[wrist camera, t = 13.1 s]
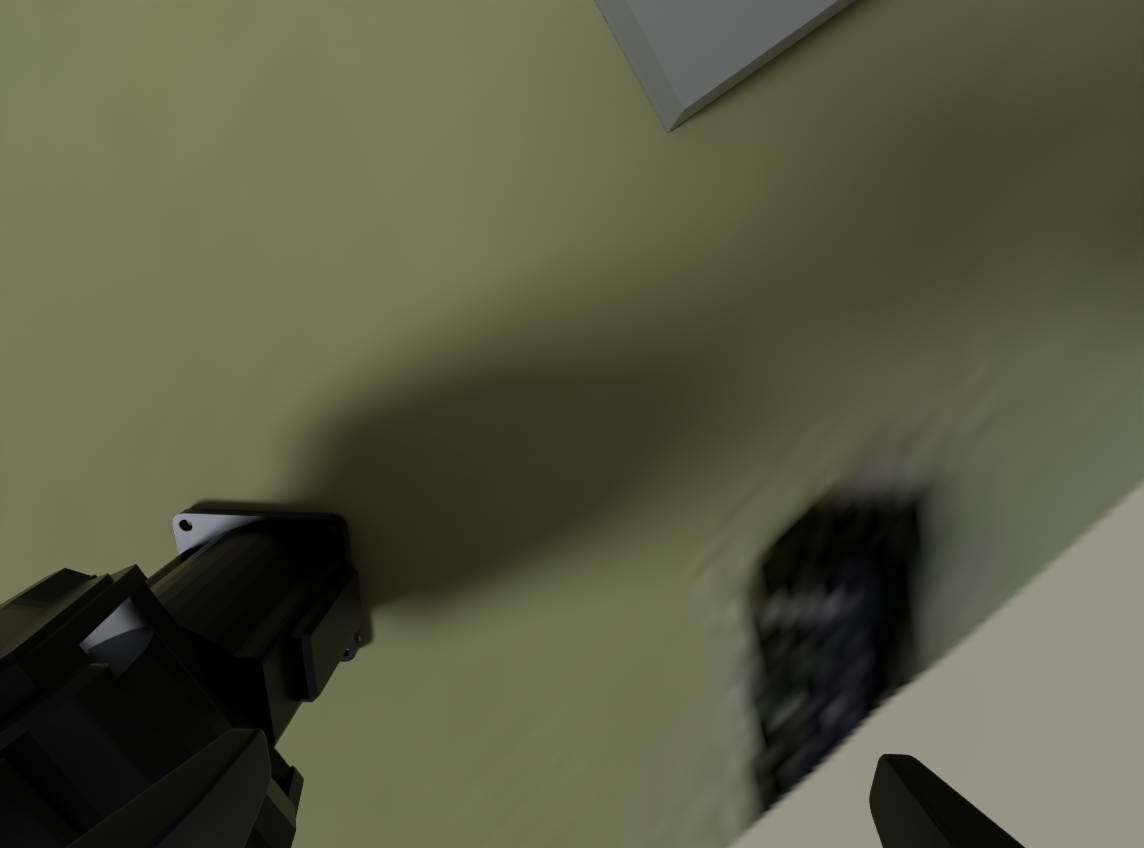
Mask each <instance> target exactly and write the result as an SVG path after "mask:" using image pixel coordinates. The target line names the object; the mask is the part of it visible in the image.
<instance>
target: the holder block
mask: <svg viewBox="0 0 1144 848" xmlns="http://www.w3.org/2000/svg"><path fill="white" fill-rule="evenodd" d="M595 1H596V3H597V5H598V7H599V9H600V11H601V12H602V14H603V16H604V18H605V20H606V22H607V23H608V25H609V27H610V29H611V31H612V33H613V34H614V36H615V38H616V40H617V42H618V44H619V45H620V47H621V49H622V51H623V53H624V55H625V56H626V58H627V60H628V62H629V64H630V66H631V67H632V69H633V71H634V73H635V75H636V76H637V78H638V80H639V82H640V84H641V86H642V87H643V89H644V91H645V93H646V95H647V97H648V98H649V100H650V102H651V104H652V106H653V108H654V109H655V111H656V113H657V115H658V117H659V119H660V120H661V122H662V124H663V126H664V128H665V130H666V131H667V133H668V132H670V131H671V130H673V129H674V128H675V127H677V126H678V125H680V124H681V123H683V122H684V121H685V120H687V119H688V118H690V117H691V116H692V115H694V114H695V113H697V112H698V111H700V110H701V109H702V108H704V107H705V106H707V105H708V104H709V103H711V102H712V101H714V100H715V99H717V98H718V97H719V96H721V95H722V94H724V93H725V92H726V91H728V90H729V89H731V88H732V87H734V86H735V85H736V84H738V83H739V82H741V81H742V80H743V79H745V78H746V77H748V76H749V75H751V74H752V73H753V72H755V71H756V70H758V69H759V68H760V67H762V66H763V65H765V64H766V63H768V62H769V61H770V60H772V59H773V58H775V57H776V56H777V55H779V54H780V53H782V52H783V51H785V50H786V49H787V48H789V47H790V46H792V45H793V44H795V43H796V42H797V41H799V40H800V39H802V38H803V37H804V36H806V35H807V34H809V33H810V32H812V31H813V30H814V29H816V28H817V27H819V26H820V25H821V24H823V23H824V22H826V21H827V20H829V19H830V18H831V17H833V16H834V15H836V14H837V13H838V12H840V11H841V10H843V9H844V8H846V7H847V6H848V5H850V4H851V3H853V2H854V1H855V0H595Z"/></svg>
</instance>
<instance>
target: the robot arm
mask: <svg viewBox="0 0 1144 848" xmlns="http://www.w3.org/2000/svg"><path fill="white" fill-rule="evenodd" d="M186 520H188V521H190V522H191V524H192V526H190V525H189V524H188V523H187V521H186ZM328 525H333V526H334V527H335V528H336V530H337V532H334V531H331V530H330V529H329V527H328ZM173 529H174V534H175V539H176V544H177V549H178V553H179V556H177V557H176V558H175V559H173V560H172V561H171V562H169V563H168V564H167V565H165V566H164V567H163V568H161V569H160V570H159V571H158V572H156V573H155V574H154V575H152V576H151V577H150V578H147V577H146V576H145V575H144V573H143V572H142V571H141V570H140V568H139V567H138V566H137V564H134V565H132V566H130V567H127V568H125V569H123V570H121V571H119V572H116V573H114V574H112V575H109V573H108V574H105V575H102V576H99V577H97V576H96V575H92V576H90V575H87V574H83V573H80V572H77V571H74V570H70V569H67V568H64V569H62V570H59V571H57V572H55V573H53V574H51V575H49V576H47V577H45V578H44V579H42V580H40V581H39V582H37V583H35V584H34V585H32V586H30V587H29V588H27V589H25V590H24V591H22V592H20V593H19V594H17V595H16V596H14V597H12V598H11V599H9V600H7V601H6V602H4V603H3V604H1V605H0V848H291V846H292V842H293V839H294V835H295V832H296V815H297V810H298V805H299V801H300V796H301V791H302V787H303V782H304V778H303V777H302V776H301V774H300V773H299V772H298V770H297V769H296V768H295V767H294V766H291V767H289V765H288V764H287V763H286V761H285V760H284V759H283V758H282V756H281V755H280V754H279V753H278V751H277V750H276V749H275V745H276V744H277V742H278V740H279V739H280V737H281V736H282V734H283V732H284V731H285V729H286V727H287V726H288V724H289V723H290V721H291V719H292V718H293V716H294V715H295V713H296V711H297V710H298V708H299V707H300V705H301V703H302V702H313V701H314V700H315V699H316V698H317V697H318V696H319V695H320V694H321V692H322V691H323V689H324V687H325V685H326V684H327V682H328V680H329V679H330V677H331V675H332V674H333V672H334V670H335V669H336V667H337V665H338V663H339V662H340V661H341V662H346V661H350V660H352V659H353V658H354V657H355V655H356V653H357V652H358V650H359V636H358V630H359V628H360V626H361V624H362V616H361V606H360V596H359V585H358V575H357V571H356V570H355V568H354V567H353V566H351V556H350V546H349V536H348V526H347V523H346V521H345V520H344V519H343V518H342V517H341V516H339V515H335V514H317V513H290V512H263V511H235V510H208V509H186V510H184V511H183V512H181V513H180V514H178V515H177V516H175V517H174V519H173ZM347 648H348V649H349V650H347ZM869 802H870V809H871V814H872V817H873V820H874V823H875V826H876V829H877V832H878V834H879V837H880V840H881V843H882V846H883V848H1025V847H1024V846H1023V845H1021V844H1020V843H1019V842H1018V841H1017V840H1015V839H1014V838H1013V837H1012V836H1010V835H1009V834H1008V833H1007V832H1006V831H1004V830H1003V829H1002V828H1001V827H999V826H998V825H997V824H996V823H995V822H993V821H992V820H991V819H990V818H988V817H987V816H986V815H985V814H984V813H982V812H981V811H980V810H978V809H977V808H976V807H975V806H974V805H973V804H971V803H970V802H969V801H967V800H966V799H965V798H964V797H963V796H961V795H960V794H959V793H958V792H957V791H955V790H954V789H953V788H952V787H950V786H949V785H948V784H947V783H946V782H944V781H943V780H942V779H941V778H939V777H938V776H937V775H936V774H935V773H933V772H932V771H931V770H930V769H928V768H927V767H926V766H924V765H923V764H922V763H921V762H920V761H918V760H917V759H916V758H914V757H912V756H909V755H901V754H884V755H882V756H881V757H880V758H879V760H878V764H877V768H876V772H875V775H874V780H873V784H872V787H871V791H870V797H869Z"/></svg>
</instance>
